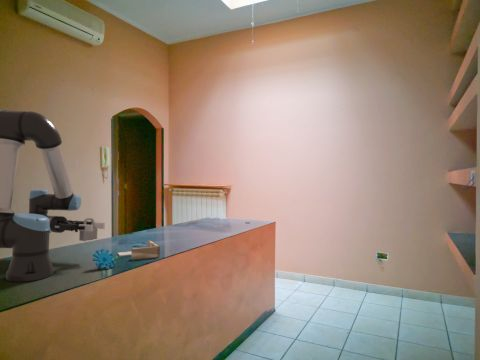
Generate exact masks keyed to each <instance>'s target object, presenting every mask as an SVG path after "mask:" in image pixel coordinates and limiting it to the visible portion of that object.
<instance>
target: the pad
mask: <svg viewBox="0 0 480 360" xmlns="http://www.w3.org/2000/svg"><path fill="white" fill-rule="evenodd" d="M131 252H132V250H131V251H121V252H120V251H119V252H117V256H118V257H123V256H126V257H127V256H131Z"/></svg>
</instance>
